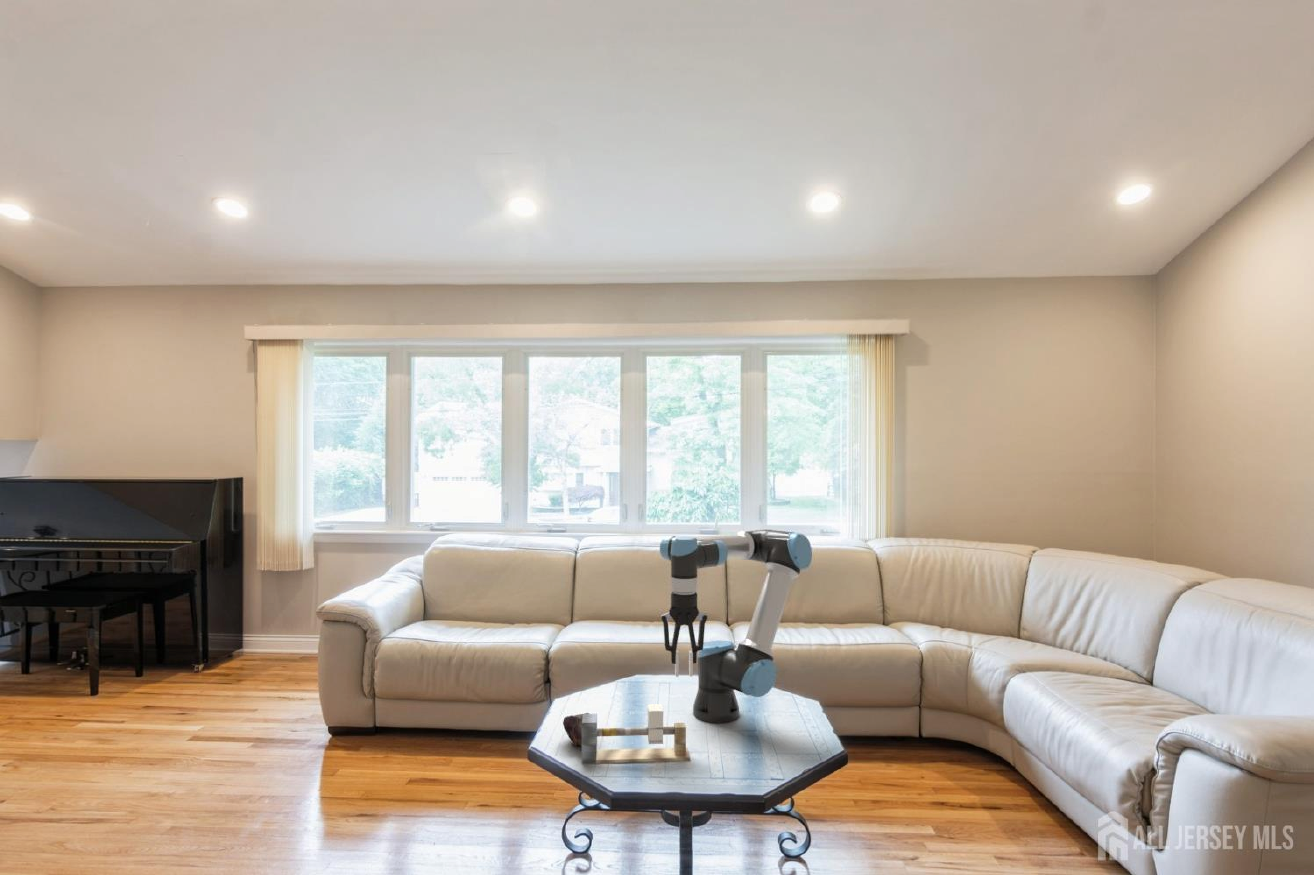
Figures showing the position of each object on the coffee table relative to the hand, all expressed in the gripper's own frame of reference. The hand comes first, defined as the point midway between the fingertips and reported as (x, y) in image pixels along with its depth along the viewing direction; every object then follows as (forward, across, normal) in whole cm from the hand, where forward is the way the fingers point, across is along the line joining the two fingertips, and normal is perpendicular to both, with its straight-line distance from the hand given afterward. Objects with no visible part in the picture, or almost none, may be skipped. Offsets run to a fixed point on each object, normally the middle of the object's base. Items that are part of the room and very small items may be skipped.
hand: (683, 674), depth 177 cm
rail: (+23, +14, 0) cm, 26 cm away
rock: (+23, +30, -10) cm, 39 cm away
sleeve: (+18, +8, 0) cm, 20 cm away
